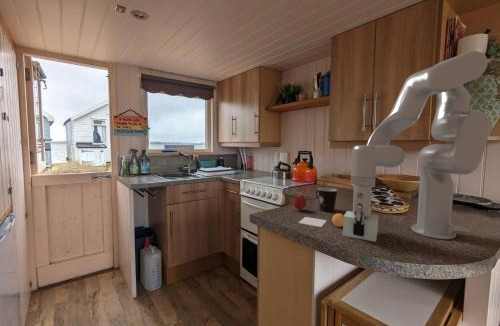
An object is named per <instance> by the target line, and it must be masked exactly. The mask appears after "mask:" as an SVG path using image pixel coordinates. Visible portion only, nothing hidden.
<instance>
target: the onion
mask: <svg viewBox="0 0 500 326" xmlns="http://www.w3.org/2000/svg"><path fill="white" fill-rule="evenodd" d="M302 195H303V194H302V193H299V194H298V195H297V196H295V198H294V199H293V202H292V203H293V206H294V208H295V209H296V210H298V211H302V210H303V209H305V208H306V205H307V200H306V198H305V197H304V196H302Z"/></svg>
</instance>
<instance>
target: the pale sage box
mask: <svg viewBox="0 0 500 326" xmlns="http://www.w3.org/2000/svg"><path fill="white" fill-rule="evenodd" d="M343 215H344V216H343V226H342V236H344V237H348V238H353V239H359V240H364V241H368V242H369V241H370V242H374V243H376V242H377V238H378V230H379V215H378V214H371V213H370V216H369V217H367V216H364V236H358V235H354V234H353V227H354V219H355V215H354V214H353V211H351V210H346V212H345V213H344V214H343ZM361 215H363V214H361ZM361 218H362V217H361Z"/></svg>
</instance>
